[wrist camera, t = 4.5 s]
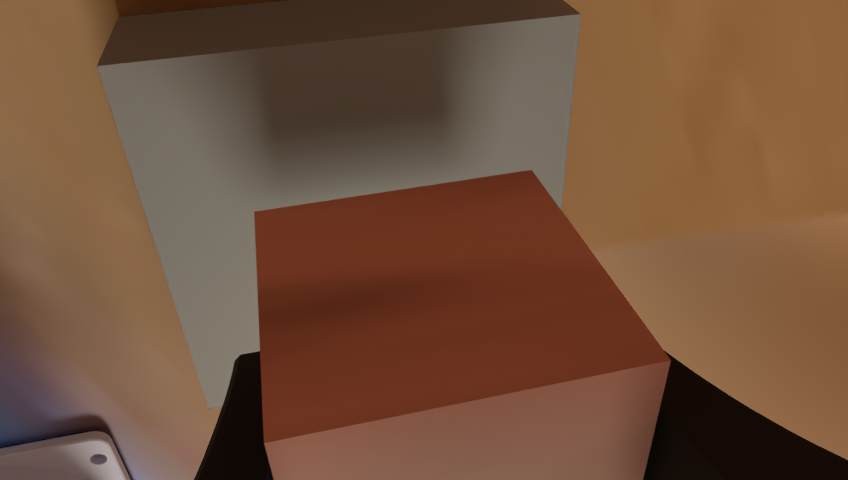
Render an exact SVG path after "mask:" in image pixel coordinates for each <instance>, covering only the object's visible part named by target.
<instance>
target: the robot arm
mask: <svg viewBox="0 0 848 480" xmlns="http://www.w3.org/2000/svg"><path fill="white" fill-rule="evenodd" d="M664 352H665V351H664ZM665 353H666V354H667V356H668V357H669V358H670V360H671V362H670V367H669V371H668V375H667V380H666V384H665V388H664V392H663V397H662V401H661V405H660V409H659V414H658V418H657V422H656V426H655V431H654V435H653V439H652V444H651V448H650V452H649V456H648V461H647V465H646V469H645V473H644V478H643V480H848V460H846V459H844V458H842V457H840V456H838V455H835V454H834V453H832V452H829V451H828V450H826V449H824V448H822V447H819V446H817V445H815V444H813V443H811V442H809V441H808V440H806V439H804V438H802V437H800V436H798V435H796V434H794V433H792V432H791V431H789V430H787V429H785V428H783V427H782V426H780V425H778V424H776V423H775V422H773V421H771V420H769V419H768V418H766V417H764V416H762V415H761V414H759V413H757V412H755V411H754V410H752V409H750V408H749V407H747V406H745V405H744V404H742V403H740V402H739V401H737V400H735V399H734V398H732V397H731V396H729V395H728V394H726V393H725V392H723V391H721V390H720V389H718V388H717V387H716V386H714V385H712V384H711V383H709V382H708V381H706V380H705V379H703V378H702V377H700V376H699V375H697V374H696V373H694V372H693V371H692V370H690V369H689V368H687V367H686V366H685V365H683V364H682V363H680V362H679V361H677V360H676V359H675V358H673V357H672V356H671V355H669V354H668V353H667V352H665ZM97 454H102V455H97ZM0 480H131V479H130V477H129V475H128V473H127V471H126V469H125V467H124V464H123V462H122V460H121V458H120V456H119V454H118V452H117V449H116V447H115V445H114V443H113V441H112V439H111V437H110V436H109V435H108V434H106V433H104V432H100V431H91V432H85V433H80V434H75V435H69V436H64V437H59V438H54V439H48V440H43V441H38V442H32V443H27V444H22V445H16V446H11V447H6V448H1V449H0ZM194 480H274V479H273V475H272V471H271V467H270V464H269V460H268V456H267V453H266V449H265V445H264V432H263V409H262V385H261V362H260V351H258V352H252V353H247V354H241V355H239V357H238V358H237V359H236V360H235V362H234V366H233V371H232V375H231V379H230V383H229V387H228V390H227V394H226V397H225V400H224V403H223V406H222V409H221V412H220V415H219V418H218V421H217V424H216V426H215V429H214V432H213V434H212V437H211V440H210V442H209V445H208V447H207V450H206V453H205V455H204V458H203V460H202V463H201V465H200V467H199V470H198V472H197V474H196V476H195V479H194Z"/></svg>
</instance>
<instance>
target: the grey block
mask: <svg viewBox="0 0 848 480" xmlns="http://www.w3.org/2000/svg"><path fill="white" fill-rule="evenodd" d="M580 17H581V14H580V13H579V12H578V11H576V10H575V9H574V8H572V7H571V6H570V5H568V4H567V3H566V2H565V1H563V0H284V1H273V2H263V3H253V4H243V5H233V6H222V7H212V8H202V9H192V10H182V11H171V12H161V13H151V14H141V15H131V16H120V17H119V18H118V20H117V22H116V24H115V27H114V29H113V31H112V33H111V36H110V38H109V40H108V42H107V45H106V47H105V49H104V51H103V54H102V56H101V58H100V60H99V63H98V65H97V68H98V71H99V74H100V77H101V80H102V83H103V86H104V89H105V93H106V96H107V99H108V102H109V105H110V108H111V111H112V114H113V117H114V120H115V123H116V126H117V129H118V132H119V135H120V139H121V142H122V145H123V148H124V151H125V154H126V157H127V160H128V163H129V166H130V169H131V172H132V175H133V178H134V182H135V185H136V188H137V191H138V194H139V197H140V200H141V203H142V206H143V209H144V212H145V215H146V218H147V221H148V225H149V228H150V231H151V234H152V237H153V240H154V243H155V246H156V249H157V252H158V255H159V258H160V261H161V264H162V267H163V271H164V274H165V277H166V280H167V283H168V286H169V289H170V292H171V295H172V298H173V301H174V304H175V307H176V310H177V314H178V317H179V320H180V323H181V326H182V329H183V332H184V335H185V338H186V341H187V344H188V347H189V350H190V353H191V356H192V360H193V363H194V366H195V369H196V372H197V375H198V378H199V381H200V384H201V387H202V390H203V393H204V396H205V399H206V403H207V406H208V409H209V408H215V407H220V406H223V403H224V400H225V397H226V394H227V390H228V387H229V383H230V379H231V375H232V371H233V366H234V362H235V360H236V359H237V358H238V357H239V355H241V354H247V353H252V352H258V351H260V338H259V315H258V291H257V268H256V244H255V221H254V211H261V210H268V209H274V208H281V207H288V206H294V205H301V204H308V203H314V202H321V201H328V200H334V199H341V198H348V197H354V196H361V195H368V194H374V193H381V192H387V191H394V190H401V189H407V188H414V187H421V186H427V185H434V184H441V183H447V182H454V181H461V180H467V179H474V178H481V177H487V176H494V175H500V174H507V173H514V172H520V171H527V170H532V171H533V172H534V174H535V175H536V176H537V178H538V179H539V181H540V182H541V183H542V185H543V186H544V187H545V189H546V190H547V191H548V193H549V194H550V196H551V197H552V198H553V200H554V201H555V202H556V204H557V205H558V207H559V208H560V209H561V206H562V196H563V186H564V176H565V166H566V156H567V146H568V137H569V127H570V117H571V107H572V97H573V87H574V77H575V67H576V57H577V47H578V37H579V27H580Z"/></svg>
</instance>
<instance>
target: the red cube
mask: <svg viewBox="0 0 848 480" xmlns="http://www.w3.org/2000/svg"><path fill="white" fill-rule="evenodd" d="M254 221H255V244H256V268H257V291H258V315H259V338H260V362H261V385H262V409H263V432H264V445H265V449H266V453H267V456H268V460H269V464H270V467H271V471H272V475H273V479H274V480H643V478H644V473H645V469H646V465H647V461H648V456H649V452H650V448H651V444H652V439H653V435H654V431H655V426H656V422H657V418H658V414H659V409H660V405H661V401H662V397H663V392H664V388H665V384H666V380H667V375H668V371H669V367H670V362H671V360H670V358H669V357H668V356H667V354H666V353H665V352H664V350H663V349H662V348H661V346H660V345H659V343H658V342H657V341H656V339H655V338H654V337H653V335H652V334H651V333H650V331H649V330H648V329H647V327H646V326H645V324H644V323H643V321H642V320H641V319H640V317H639V316H638V315H637V313H636V312H635V311H634V309H633V308H632V306H631V305H630V304H629V302H628V301H627V300H626V298H625V297H624V295H623V294H622V293H621V291H620V290H619V289H618V287H617V286H616V285H615V283H614V282H613V280H612V279H611V278H610V276H609V275H608V274H607V272H606V271H605V269H604V268H603V267H602V265H601V264H600V263H599V261H598V260H597V259H596V257H595V256H594V254H593V253H592V252H591V250H590V249H589V248H588V246H587V245H586V243H585V242H584V241H583V239H582V238H581V237H580V235H579V234H578V233H577V231H576V230H575V228H574V227H573V226H572V224H571V223H570V222H569V220H568V219H567V217H566V216H565V215H564V213H563V212H562V211H561V209H560V208H559V207H558V205H557V204H556V202H555V201H554V200H553V198H552V197H551V196H550V194H549V193H548V191H547V190H546V189H545V187H544V186H543V185H542V183H541V182H540V181H539V179H538V178H537V176H536V175H535V174H534V172H533V171H532V170H527V171H520V172H514V173H507V174H500V175H494V176H487V177H481V178H474V179H467V180H461V181H454V182H447V183H441V184H434V185H427V186H421V187H414V188H407V189H401V190H394V191H387V192H381V193H374V194H368V195H361V196H354V197H348V198H341V199H334V200H328V201H321V202H314V203H308V204H301V205H294V206H288V207H281V208H274V209H268V210H261V211H254Z"/></svg>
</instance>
